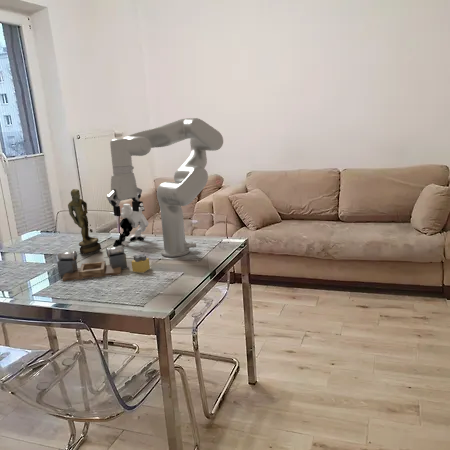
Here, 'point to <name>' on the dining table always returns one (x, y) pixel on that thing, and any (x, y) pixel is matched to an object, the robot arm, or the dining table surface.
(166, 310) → the dining table surface
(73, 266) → the shaft
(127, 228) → the robot toy
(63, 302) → the dining table surface
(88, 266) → the bed
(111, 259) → the shaft
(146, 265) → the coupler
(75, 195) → the statue
